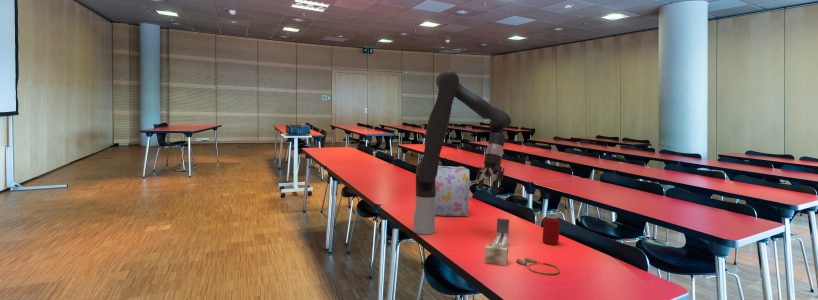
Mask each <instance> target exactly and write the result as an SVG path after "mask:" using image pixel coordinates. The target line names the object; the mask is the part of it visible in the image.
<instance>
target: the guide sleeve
mask: <svg viewBox="0 0 818 300" xmlns="http://www.w3.org/2000/svg"><path fill="white" fill-rule="evenodd" d="M500 236H501V233H496V235H495V239H494V241H493V243H494V244H498V242H499V239H500ZM508 244H509V234H504V238H503V241H502V245H508ZM508 246H509V245H508Z"/></svg>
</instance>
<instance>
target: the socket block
mask: <svg viewBox="0 0 818 300" xmlns="http://www.w3.org/2000/svg"><path fill="white" fill-rule="evenodd" d="M484 249H485V250H484V264H485V263H486V264H492V265H498V266H499V265H500V266H507V264H508V260H509V257H508V256H509V245H502V244H494V242H493V243H492V242H487V243H486V244H485V247H484Z"/></svg>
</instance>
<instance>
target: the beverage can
mask: <svg viewBox="0 0 818 300" xmlns="http://www.w3.org/2000/svg"><path fill="white" fill-rule="evenodd" d="M542 223H543V226H542V242H543V243H544V244H546V245H550V246H556V245H557V244H559V240H560V239H559V238H560V237H559V236H560V226H561V225H560V223H561V222H560V219H559V216H557V215H553V214H551V215H550V214H546V215H545V216H544V218H543V222H542Z"/></svg>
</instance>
